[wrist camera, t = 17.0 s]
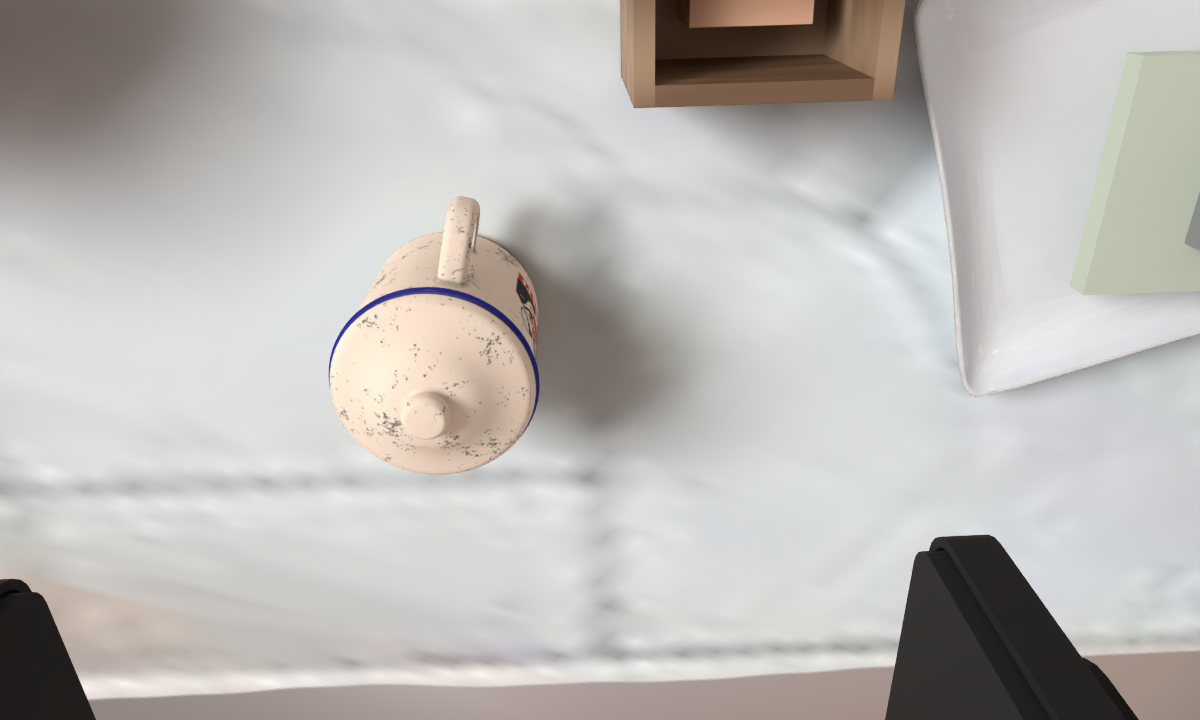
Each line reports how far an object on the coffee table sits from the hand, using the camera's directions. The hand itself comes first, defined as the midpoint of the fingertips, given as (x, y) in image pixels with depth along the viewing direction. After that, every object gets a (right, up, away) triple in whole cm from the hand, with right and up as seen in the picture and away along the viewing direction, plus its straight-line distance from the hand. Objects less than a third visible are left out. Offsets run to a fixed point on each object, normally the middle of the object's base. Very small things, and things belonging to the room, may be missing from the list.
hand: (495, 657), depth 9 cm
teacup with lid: (-6, +7, +35) cm, 36 cm away
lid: (+30, +12, +30) cm, 44 cm away
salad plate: (+27, +14, +33) cm, 45 cm away
